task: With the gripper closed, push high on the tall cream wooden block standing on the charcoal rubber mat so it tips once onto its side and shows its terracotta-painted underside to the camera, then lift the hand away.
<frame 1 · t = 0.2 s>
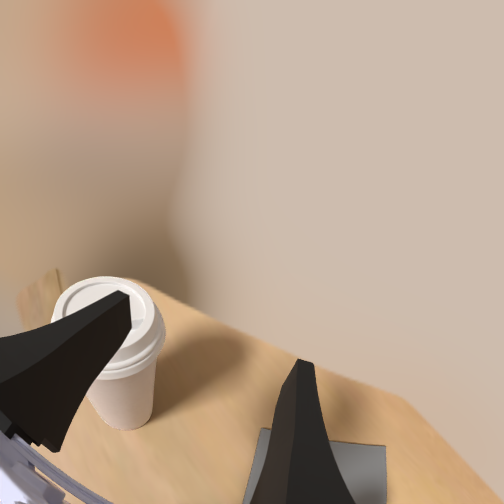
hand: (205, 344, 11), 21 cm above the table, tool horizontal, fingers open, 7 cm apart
coffee cup: (124, 405, 26), on the table
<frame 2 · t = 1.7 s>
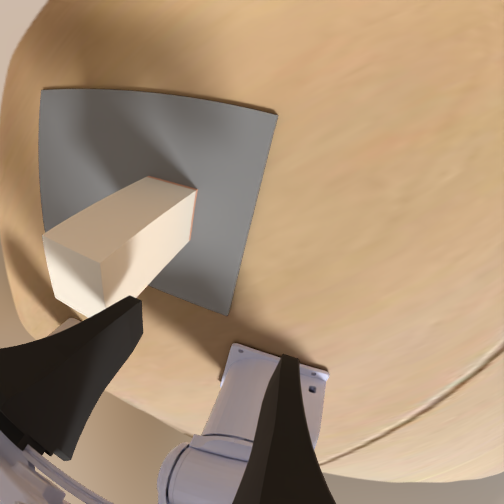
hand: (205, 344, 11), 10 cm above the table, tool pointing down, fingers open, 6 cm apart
block: (169, 207, 20), resting on mat
mat: (119, 190, 21), on the table
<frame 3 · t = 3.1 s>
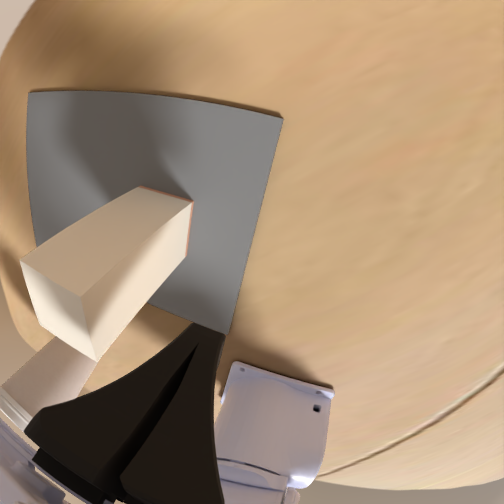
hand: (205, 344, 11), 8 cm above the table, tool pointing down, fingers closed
coffee cup: (80, 346, 32), on the table
block: (163, 220, 19), resting on mat
mat: (109, 200, 19), on the table
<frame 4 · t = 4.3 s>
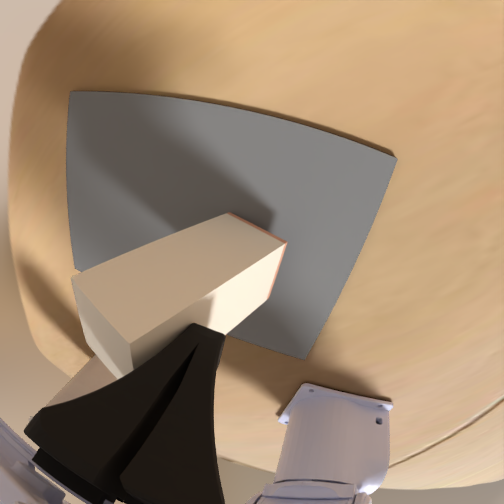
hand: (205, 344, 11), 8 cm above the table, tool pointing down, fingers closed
coffee cup: (117, 368, 32), on the table
block: (249, 255, 17), point 1 cm above the table, tilted 20°, touching mat
mat: (183, 224, 19), on the table
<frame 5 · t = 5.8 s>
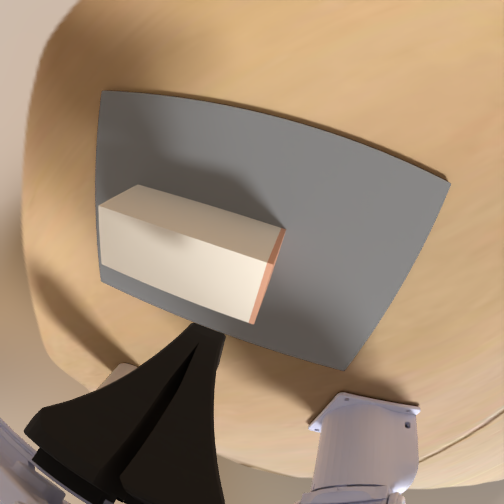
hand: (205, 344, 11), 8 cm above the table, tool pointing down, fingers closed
coffee cup: (140, 379, 31), on the table
block: (270, 275, 16), point 2 cm above the table, tilted 90°, touching mat
mat: (233, 240, 18), on the table
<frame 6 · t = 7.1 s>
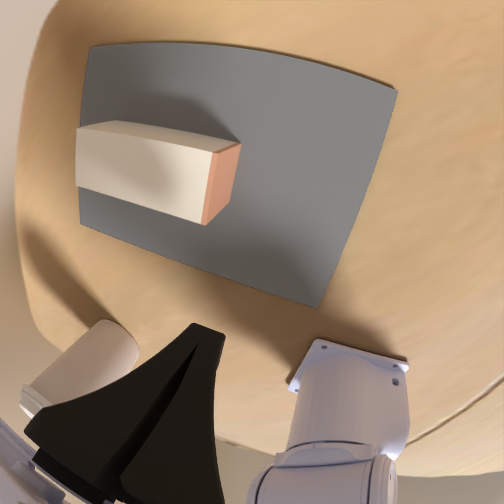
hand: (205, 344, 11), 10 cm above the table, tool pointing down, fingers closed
coffee cup: (118, 338, 31), on the table
block: (224, 181, 16), point 2 cm above the table, tilted 90°, touching mat
mat: (195, 161, 19), on the table
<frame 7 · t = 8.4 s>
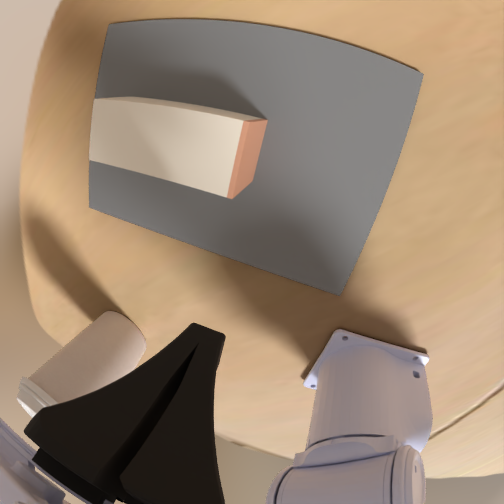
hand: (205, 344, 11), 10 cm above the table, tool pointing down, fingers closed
coffee cup: (124, 332, 30), on the table
block: (251, 155, 15), point 2 cm above the table, tilted 90°, touching mat
mat: (217, 138, 18), on the table
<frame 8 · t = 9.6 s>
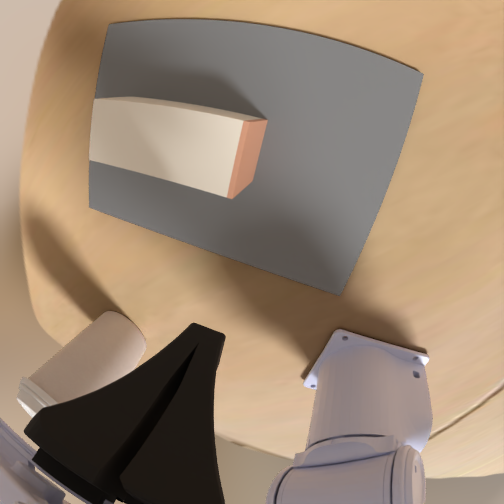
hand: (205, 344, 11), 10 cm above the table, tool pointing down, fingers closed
coffee cup: (124, 332, 30), on the table
block: (251, 155, 15), point 2 cm above the table, tilted 90°, touching mat
mat: (217, 138, 18), on the table
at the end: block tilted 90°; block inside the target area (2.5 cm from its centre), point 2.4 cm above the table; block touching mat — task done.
